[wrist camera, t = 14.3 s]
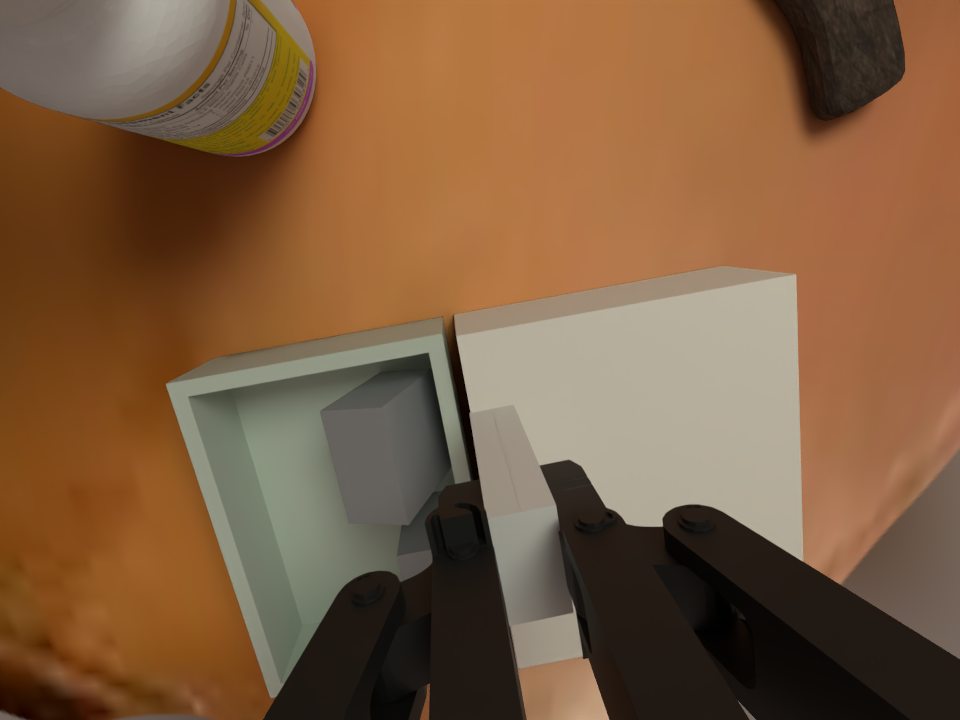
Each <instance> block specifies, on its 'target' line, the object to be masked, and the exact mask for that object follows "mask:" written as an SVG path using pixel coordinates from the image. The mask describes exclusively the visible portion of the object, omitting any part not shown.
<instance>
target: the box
mask: <svg viewBox="0 0 960 720" xmlns="http://www.w3.org/2000/svg"><path fill="white" fill-rule="evenodd" d="M426 368H432V371H433V376H434V381H435V386H436V390H437V395H438V400H439V405H440V410H441V415H442V420H443V425H444V430H445V435H446V440H447V445H448V450H449V455H450V460H451V465H452V467H451V468H450V470H449V471H448V473H447V474H446V475H445V477H444V478H443V479H442V481H441V482H440V483H439V485H438V486H437V487H436V489H435V490H434V492H438V491H443V489H444V488H445V486H448V485H453V484H458V483H463V482H468V481H473V480H474V478H473V473H472V467H471V462H470V457H469V452H468V447H467V441H466V436H465V431H464V426H463V421H462V415H461V410H460V405H459V400H458V395H457V389H456V384H455V379H454V374H453V369H452V363H451V358H450V353H449V348H448V343H447V337H446V332H445V327H444V322H443V317H438V318H433V319H427V320H422V321H416V322H411V323H405V324H400V325H394V326H389V327H383V328H378V329H372V330H367V331H361V332H356V333H350V334H345V335H339V336H334V337H328V338H323V339H317V340H312V341H306V342H301V343H295V344H290V345H284V346H279V347H273V348H268V349H262V350H257V351H251V352H246V353H240V354H235V355H229V356H223V357H218V358H213V359H212V360H210V361H208V362H206V363H204V364H202V365H200V366H198V367H197V368H195V369H193V370H191V371H189V372H187V373H185V374H183V375H182V376H180V377H178V378H176V379H174V380H172V381H170V382H168V383H167V384H166V386H167V389H168V392H169V395H170V398H171V401H172V404H173V407H174V410H175V413H176V416H177V419H178V422H179V425H180V428H181V431H182V434H183V437H184V440H185V443H186V446H187V449H188V452H189V455H190V458H191V461H192V464H193V467H194V470H195V473H196V476H197V479H198V482H199V485H200V488H201V491H202V494H203V497H204V500H205V503H206V506H207V509H208V512H209V515H210V518H211V521H212V524H213V527H214V530H215V533H216V536H217V539H218V542H219V545H220V548H221V551H222V554H223V557H224V560H225V563H226V566H227V569H228V572H229V575H230V578H231V581H232V584H233V587H234V590H235V593H236V596H237V599H238V602H239V605H240V608H241V611H242V614H243V617H244V620H245V623H246V626H247V629H248V632H249V635H250V638H251V641H252V644H253V647H254V650H255V653H256V656H257V659H258V662H259V665H260V668H261V671H262V674H263V677H264V680H265V683H266V686H267V689H268V692H269V695H270V698H274V697H277V695H278V693H279V692H280V690H281V688H282V687H283V685H284V683H285V682H286V680H287V678H288V677H289V675H290V673H291V672H292V670H293V668H294V667H295V665H296V663H297V661H298V660H299V658H300V656H301V655H302V653H303V651H304V650H305V648H306V646H307V645H308V643H309V641H310V640H311V638H312V636H313V635H314V633H315V631H316V629H317V628H318V626H319V624H320V623H321V621H322V619H323V618H324V616H325V614H326V613H327V611H328V609H329V608H330V606H331V604H332V603H333V601H334V599H335V597H336V596H337V594H338V593H339V592H340V590H341V589H342V588H343V587H344V586H345V585H346V584H347V583H349V582H350V581H351V580H353V579H354V578H356V577H358V576H360V575H363V574H365V573H368V572H374V571H390V572H391V573H393V574H395V575H397V577H398V579H399V581H400V582H402V581H403V580H402V576H401V571H400V567H399V563H398V559H397V552H398V545H399V538H400V532H401V525H382V524H349V523H348V519H347V515H346V511H345V507H344V504H343V500H342V496H341V492H340V488H339V484H338V480H337V477H336V473H335V469H334V465H333V461H332V457H331V453H330V450H329V446H328V442H327V438H326V434H325V430H324V426H323V423H322V419H321V415H320V411H321V410H322V409H324V408H325V407H327V406H328V405H330V404H331V403H333V402H335V401H336V400H338V399H339V398H341V397H342V396H344V395H345V394H347V393H349V392H350V391H352V390H353V389H355V388H356V387H358V386H359V385H361V384H363V383H364V382H366V381H367V380H369V379H370V378H372V377H373V376H375V375H377V374H378V373H380V372H391V371H403V370H415V369H426Z"/></svg>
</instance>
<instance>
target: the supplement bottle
mask: <svg viewBox="0 0 960 720" xmlns="http://www.w3.org/2000/svg"><path fill="white" fill-rule="evenodd" d="M315 84H316V59H315V52H314V48H313V43H312V40H311V37H310V34H309V31H308V29H307V26H306V24H305V22H304V20H303V18H302V16H301V14H300V12H299V11H298V9H297V7H296V6H295V4H294V3H293V1H292V0H0V87H1V88H2V89H4V90H6V91H8V92H10V93H12V94H13V95H15V96H17V97H20V98H22V99H24V100H26V101H29V102H31V103H34V104H36V105H39V106H42V107H45V108H48V109H51V110H55V111H58V112H62V113H65V114H68V115H72V116H75V117H79V118H82V119H86V120H90V121H94V122H98V123H102V124H105V125H110V126H113V127H116V128H120V129H124V130H127V131H131V132H135V133H138V134H141V135H146V136H150V137H154V138H157V139H161V140H164V141H168V142H171V143H175V144H179V145H182V146H186V147H190V148H193V149H197V150H200V151H204V152H208V153H212V154H217V155H223V156H232V157H241V156H250V155H255V154H258V153H262V152H265V151H267V150H270V149H272V148H274V147H276V146H277V145H279V144H281V143H282V142H283V141H285V140H286V139H287V138H288V137H290V136H291V135H292V134H293V133H294V132H295V130H296V129H297V128H298V127H299V125H300V124H301V123H302V121H303V119H304V118H305V116H306V114H307V112H308V110H309V107H310V105H311V102H312V99H313V94H314V90H315Z"/></svg>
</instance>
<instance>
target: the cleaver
mask: <svg viewBox="0 0 960 720" xmlns="http://www.w3.org/2000/svg"><path fill="white" fill-rule="evenodd" d="M775 1H776V2H777V4H778V5H779V6H780V8H781V9H782V11H783V12H784V13H785V15H786V16H787V18H788V19H789V21H790V23H791V25H792V27H793V29H794V32H795V34H796V36H797V38H798V41H799V43H800V46H801V51H802V55H803V60H804V65H805V70H806V74H807V80H808V86H809V92H810V98H811V104H812V106H813V109H814V112H815V114H816V117H817V118H818V119H821V120H824V121H828V120H832V119H835V118H837V117H840V116H843V115H845V114H848V113H851V112H853V111H855V110H857V109H858V108H860V107H862V106H864V105H865V104H867V103H869V102H871V101H872V100H874V99H876V98H877V97H879V96H880V95H882V94H884V93H885V92H887V91H888V90H889V89H891V88H892V87H893V86H894V85H895V84H897V83H898V82H899V81H900V80H901V79H902V77H903V74H904V72H905V54H904V47H903V42H902V37H901V31H900V26H899V21H898V17H897V13H896V9H895V5H894V1H893V0H775Z"/></svg>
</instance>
